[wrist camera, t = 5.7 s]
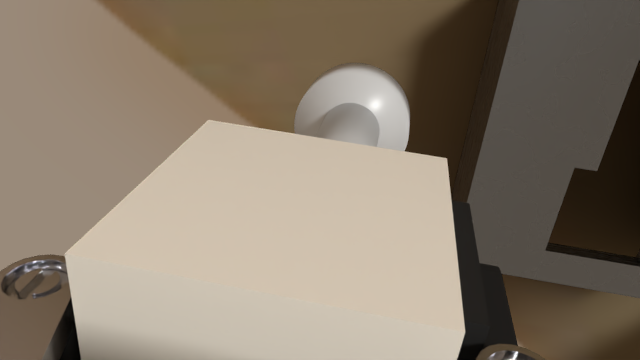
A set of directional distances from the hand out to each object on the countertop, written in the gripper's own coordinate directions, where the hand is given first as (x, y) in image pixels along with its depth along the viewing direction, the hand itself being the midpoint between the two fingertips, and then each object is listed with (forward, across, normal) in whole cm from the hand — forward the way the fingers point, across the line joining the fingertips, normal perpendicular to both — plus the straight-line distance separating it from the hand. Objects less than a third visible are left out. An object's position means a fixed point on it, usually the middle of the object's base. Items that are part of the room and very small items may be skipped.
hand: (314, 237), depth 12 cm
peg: (+8, 0, 0) cm, 8 cm away
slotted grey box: (+24, -15, +4) cm, 29 cm away
